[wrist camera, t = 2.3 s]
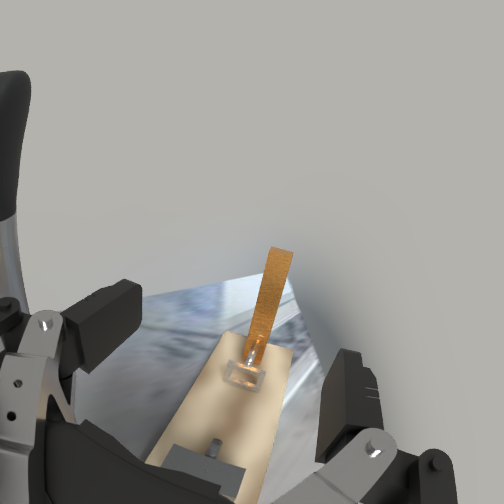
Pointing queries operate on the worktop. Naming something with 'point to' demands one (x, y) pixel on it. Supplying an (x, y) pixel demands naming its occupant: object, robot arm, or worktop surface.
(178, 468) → the gray rectangular block
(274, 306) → the upright wooden paddle
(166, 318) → the worktop surface
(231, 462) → the rail board
